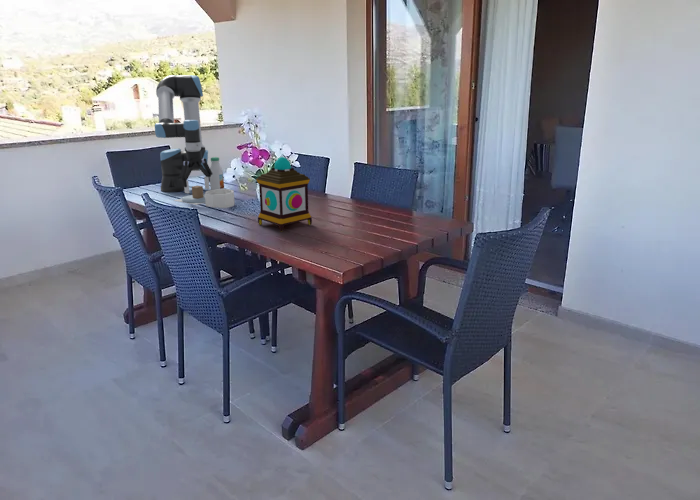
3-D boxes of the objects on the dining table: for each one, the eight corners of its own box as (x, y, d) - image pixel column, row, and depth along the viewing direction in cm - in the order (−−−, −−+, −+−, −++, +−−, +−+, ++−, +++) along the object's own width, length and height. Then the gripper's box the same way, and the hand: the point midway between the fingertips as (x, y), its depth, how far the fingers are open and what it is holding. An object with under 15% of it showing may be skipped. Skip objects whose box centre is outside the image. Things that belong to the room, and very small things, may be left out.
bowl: (200, 206, 258) (199, 192, 256) (221, 200, 269) (220, 188, 267) (219, 209, 250) (218, 195, 248) (240, 204, 262) (239, 191, 259)
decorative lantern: (253, 224, 225) (249, 156, 215) (288, 216, 238) (286, 152, 228) (280, 233, 211) (277, 161, 202) (316, 224, 224) (315, 157, 215)
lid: (174, 200, 267) (173, 187, 265) (200, 194, 281) (198, 182, 279) (196, 204, 258) (195, 191, 256) (221, 198, 272) (220, 185, 270)
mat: (173, 201, 267) (173, 200, 267) (200, 195, 282) (200, 194, 282) (196, 205, 258) (196, 204, 258) (222, 199, 272) (222, 198, 272)
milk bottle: (216, 194, 284) (213, 159, 278) (207, 192, 289) (204, 157, 282) (227, 192, 290) (224, 157, 284) (218, 190, 294) (215, 156, 288)
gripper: (178, 153, 250) (183, 195, 256) (217, 148, 269) (220, 187, 276) (168, 152, 254) (173, 194, 260) (207, 147, 273) (210, 186, 280)
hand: (197, 190), depth 268 cm, fingers open, 13 cm apart
